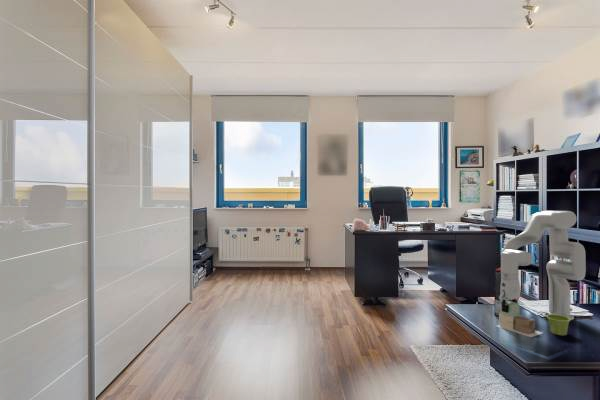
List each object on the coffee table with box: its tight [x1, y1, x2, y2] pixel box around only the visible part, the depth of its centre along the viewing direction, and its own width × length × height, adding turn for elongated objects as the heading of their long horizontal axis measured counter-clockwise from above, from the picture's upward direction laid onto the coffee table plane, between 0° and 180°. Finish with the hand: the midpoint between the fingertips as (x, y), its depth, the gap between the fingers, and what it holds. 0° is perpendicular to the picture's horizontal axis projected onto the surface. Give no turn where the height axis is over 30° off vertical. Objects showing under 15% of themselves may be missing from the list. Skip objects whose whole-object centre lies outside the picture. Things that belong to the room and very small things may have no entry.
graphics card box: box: [493, 266, 512, 318], centre depth 198 cm, size 17×7×27 cm, turn 136°
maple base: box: [498, 313, 522, 330], centre depth 177 cm, size 7×7×6 cm
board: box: [496, 324, 544, 338], centre depth 173 cm, size 11×17×1 cm, turn 28°
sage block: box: [500, 301, 520, 317], centre depth 177 cm, size 6×6×6 cm
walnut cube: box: [515, 315, 536, 334], centre depth 170 cm, size 6×6×6 cm
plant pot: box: [545, 314, 572, 336], centre depth 168 cm, size 9×9×9 cm
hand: (509, 310), depth 177 cm, fingers open, 7 cm apart
